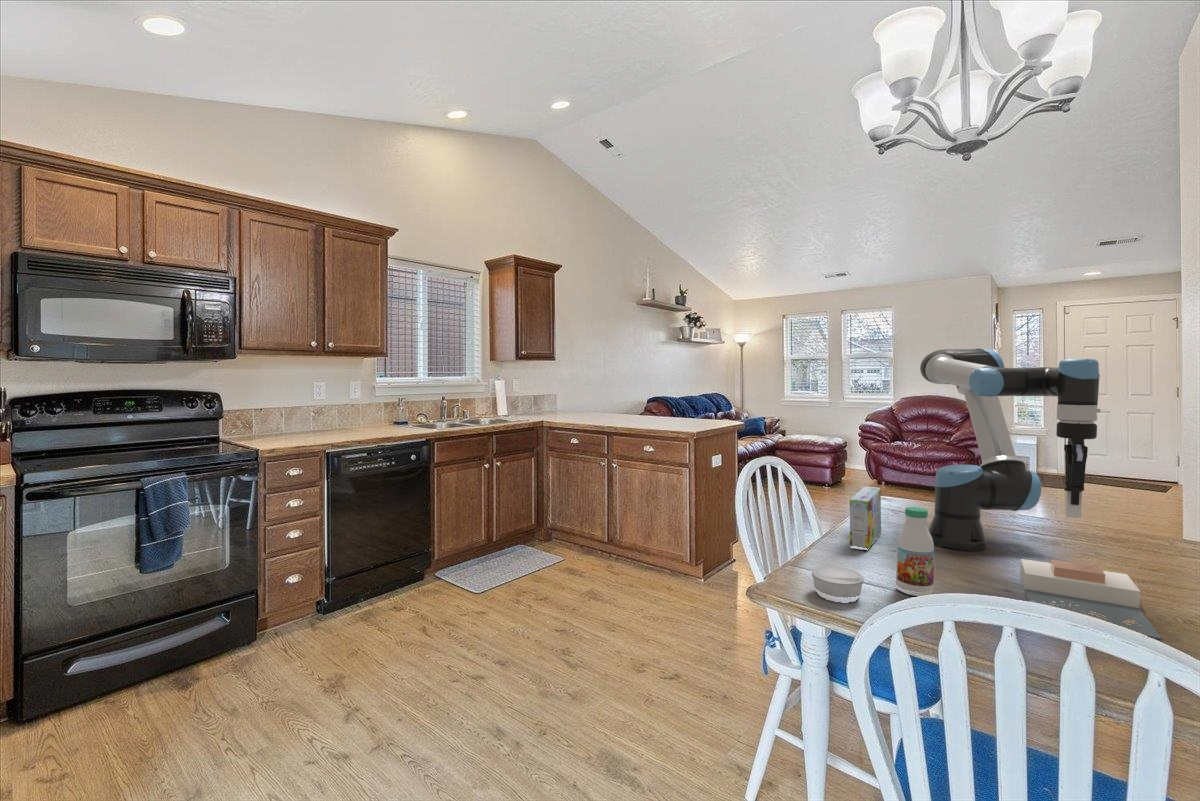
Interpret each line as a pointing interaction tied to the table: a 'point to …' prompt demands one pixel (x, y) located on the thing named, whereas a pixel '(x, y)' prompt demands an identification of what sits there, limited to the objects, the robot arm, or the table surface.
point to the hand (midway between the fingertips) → (1073, 516)
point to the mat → (1098, 610)
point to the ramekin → (837, 581)
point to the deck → (1080, 585)
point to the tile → (1077, 571)
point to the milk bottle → (915, 553)
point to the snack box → (865, 517)
